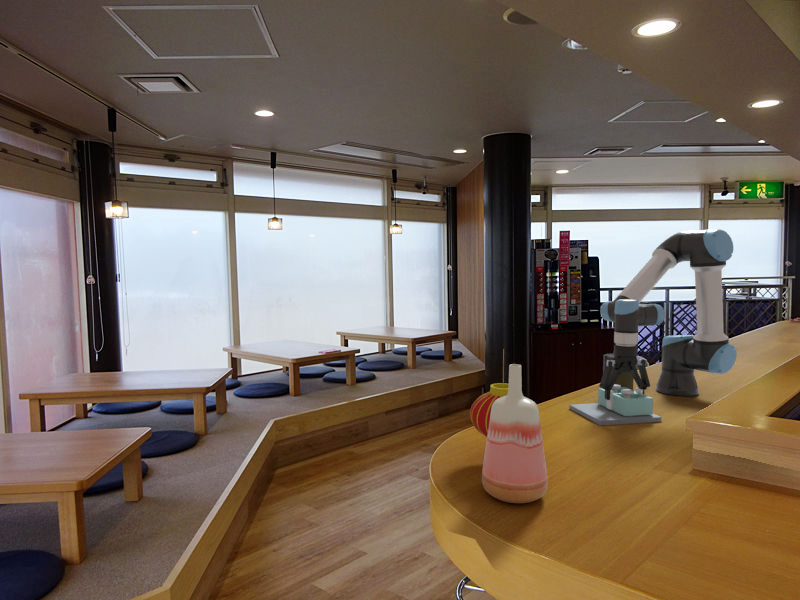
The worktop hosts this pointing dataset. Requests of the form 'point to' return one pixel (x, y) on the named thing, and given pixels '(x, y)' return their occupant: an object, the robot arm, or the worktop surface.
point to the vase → (514, 447)
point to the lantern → (487, 405)
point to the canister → (624, 378)
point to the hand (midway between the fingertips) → (624, 408)
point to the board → (611, 412)
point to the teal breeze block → (628, 403)
